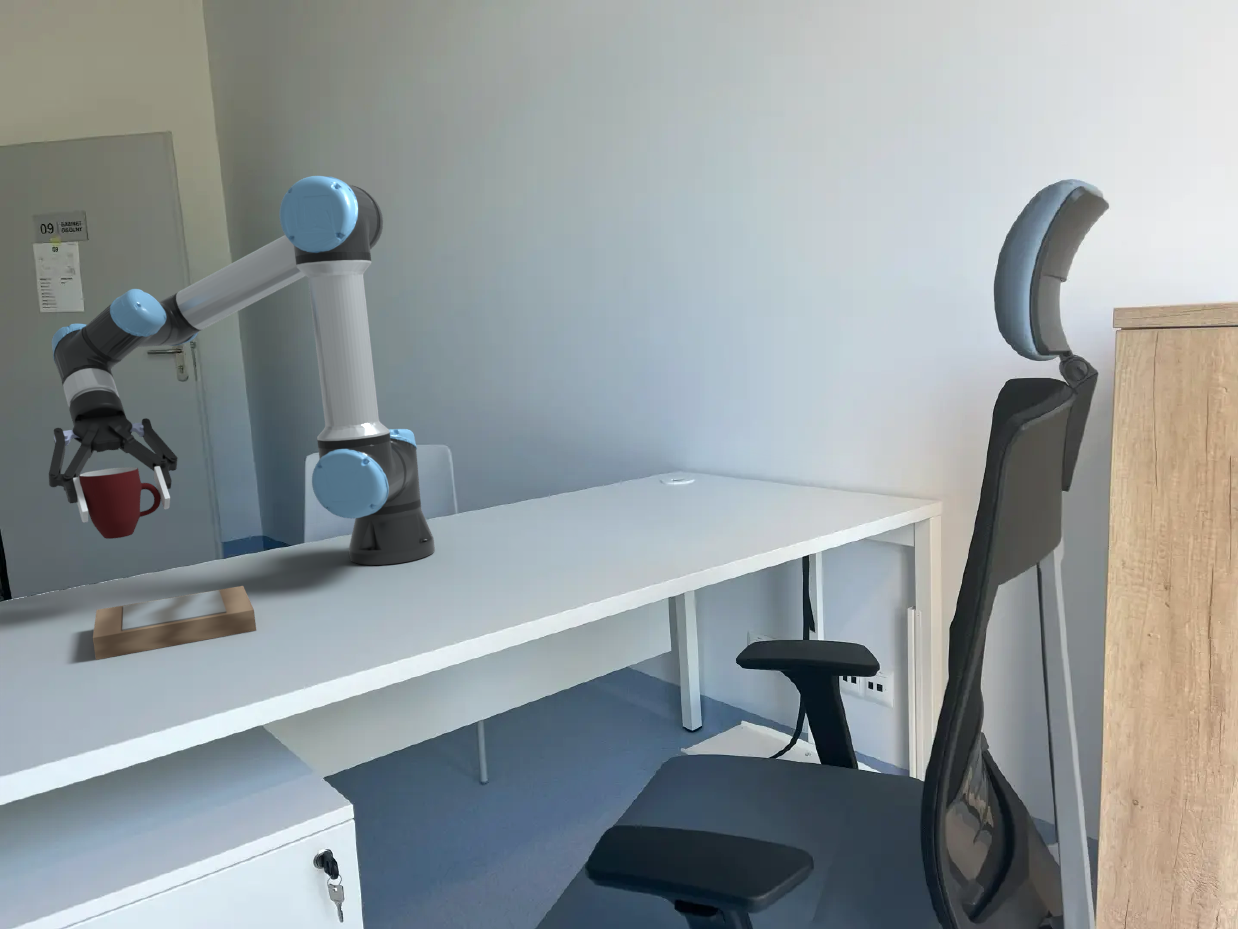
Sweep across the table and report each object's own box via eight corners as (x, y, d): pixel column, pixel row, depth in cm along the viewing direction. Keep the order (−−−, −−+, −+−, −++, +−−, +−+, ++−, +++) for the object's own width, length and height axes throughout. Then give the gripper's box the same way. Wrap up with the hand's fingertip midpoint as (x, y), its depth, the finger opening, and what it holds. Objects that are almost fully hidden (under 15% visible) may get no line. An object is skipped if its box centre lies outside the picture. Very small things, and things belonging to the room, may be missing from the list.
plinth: (245, 604, 149) (242, 584, 149) (256, 630, 136) (253, 608, 135) (99, 629, 140) (96, 608, 140) (95, 659, 127) (92, 636, 127)
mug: (155, 524, 155) (146, 463, 154) (171, 530, 149) (162, 466, 148) (82, 537, 148) (72, 473, 147) (96, 544, 142) (86, 478, 141)
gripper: (170, 411, 165) (205, 511, 155) (12, 428, 152) (40, 539, 142) (172, 380, 160) (209, 482, 150) (10, 395, 147) (38, 508, 137)
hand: (127, 510), depth 146 cm, fingers closed on mug, 11 cm apart
